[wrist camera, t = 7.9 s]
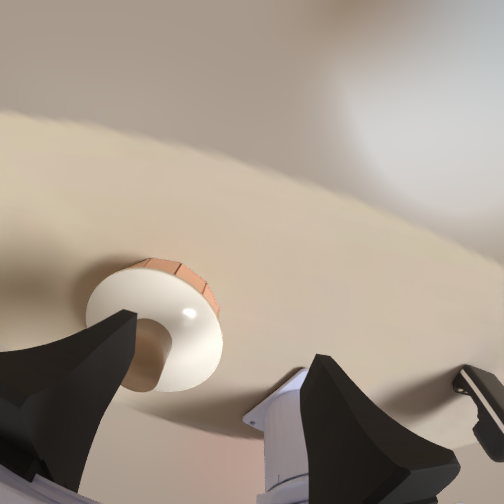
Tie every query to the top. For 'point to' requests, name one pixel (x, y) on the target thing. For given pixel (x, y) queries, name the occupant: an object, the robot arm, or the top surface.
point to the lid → (161, 328)
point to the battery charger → (485, 408)
